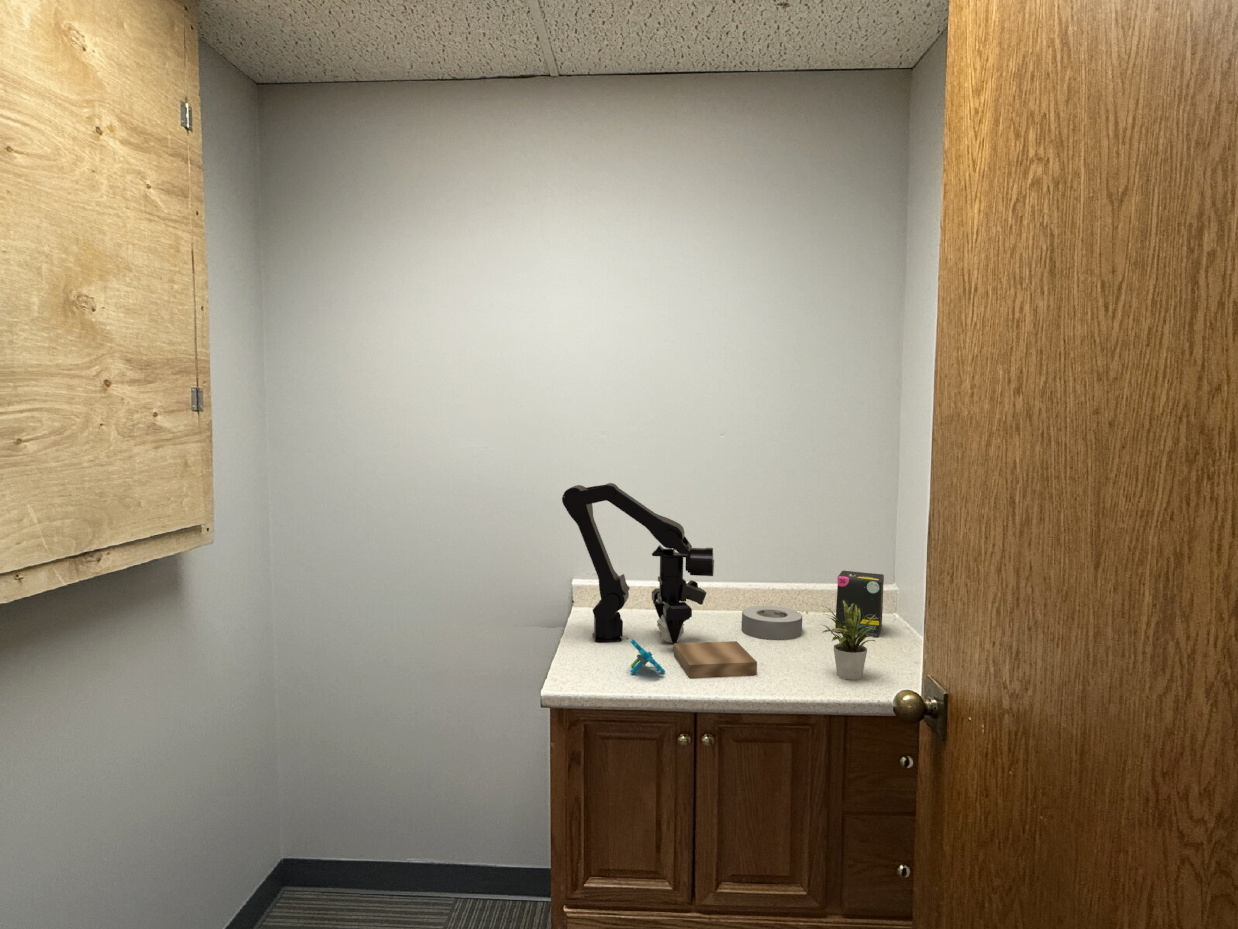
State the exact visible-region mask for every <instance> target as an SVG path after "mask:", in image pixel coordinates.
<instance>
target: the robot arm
mask: <svg viewBox="0 0 1238 929" xmlns="http://www.w3.org/2000/svg"><path fill="white" fill-rule="evenodd" d="M561 501H562V505H563V506H564V508H565V510H566V511H567V514H568V515H569V516H570V518H572V520H573V521H574V522H575V524H576V525H577V526H578V529H579V532H580V534H581V537H582V539H583V542H584V544H585V547H586V551H587V552H588V555H589V557H590V560H591V563H592V565H593V568H594V571H595V573H596V575H597V579H598V588H599V595H600V600H598V602H597V604H596V605H594V608H593V609H592V613H593V633H592V636H593V638H594V641H595V643H608V642H609V643H610V642H622V638H623V633H624V632H623V630H624V629H623V628H624V626H623V624H624V623H623V622H624V621H623V618H621V617H622V616H621V614H620V612H619V611H621V610H622V608H623V607H624V606H625V604H627V601H628V600H629V596H630V594H629V590H630V589H631V588H630V586H629V584H628V583H627V580H626V576H625V574H621V575H618V573H617V572H616V570H615V569H614V567H613V564H612V561H611V560H610V557H609V554H608V551H607V548H606V546H605V544H604V541H603V539H602V535H601V534H600V531H599V528H598V525H597V523H596V521H595V518H594V510H593V504H596V503H599V502H600V503H601V502H605V501H607V502H609V503H610V504H611V505H613V506H615V507H616V508H617V509H619V510H620V511H622V512H623V513H625V514H626V515H628V516H629V517H631V518H632V519H634V520H635V521H636V522H638V523H639V524H641V525H642V526H643V527H645V528H646V529H647V530H648V532H649V533H650V534H651V535H652V536H653V537H654V539H656V540H657V541H658V542H659V545H658V546H657V548H656V549H655V550H653V552H651V556H652V557H659V576H657V581H658V583H659V588H654V589H653V590H652V591H651V600H652V603H653V606H654V609H655V612H656V613H657V617H658V619H659V618H661V616H662V615H663V617H664V620H665V623H666V626H667V629H668V632H669V635H670V638H671V640H672V644H677V643H678V641H679V640H678V637H679V634H680V630H681V627H682V624H684V623H685V622H686V621H687V620H690V619H691V618H692V616H693V609H692V607H691V606H689V604H688V603H687V600H688V601H691V602H694V603H697V604H698V605H701V606H702V605H703V604H704V601H705V600H706V596H707V592H706V591H705V590H704V589H702V588H701V587H699V585H698V584H699V583H698V582H697V581H695V580H692V579H691V580H689V581H688V582H687V581H686V580H685V579H684V564H685V572H687V573H689V575H690V576H696V577H697V576H701V577H714V572H715V559H714V548H713V547H705V548H704V547H693V546H692V544H691V543H690V541H689V540H688V538H687V536H686V535H685V533H686V532H685V528H684V527H683V526H682V525H681V523H679V522H677V521H675V520H672V519H670V518H668V517H666V516H663V515H660V514H658V513H655V511H653V510H651V509H650V508H648V507H647V506H645V505H644V504H642V503H641V502H639V500H637V499H636V498H634V497H632V496H631V495H629V494H628V493H627V492H625V491H624V490H622V489H621V488H619V487H618V485H616V484H615V483H613V482H608V483H606V484H602V485H601V484H600V485H593V486H589V487H586V486H585V485H582V484H581V485H580V484H578V485H574V486H572V487H570V488H568V489H566V490H565V491H564V493H563V494H562V497H561ZM661 545H662V546H663V547H664V548H663V547H662V546H661ZM684 558H685V563H684ZM677 640H678V641H677Z"/></svg>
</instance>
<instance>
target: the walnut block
mask: <svg viewBox="0 0 1238 929" xmlns="http://www.w3.org/2000/svg"><path fill="white" fill-rule="evenodd" d="M673 657H674V659H675V660H676V662H677V663H678V664H679V666H680V667H681V670H683V672H684V673H685V674H686V676H687V677H688V678H689V679H709V678H710V679H711V678H712V679H713V678H735V677H736V678H737V677H756V676H755V675H757V676H758V661H757V660H755V658H754V657H753V656H752V655H751V654H750V653H749V652H748V651H747V650H746V649H745V648H744V647H743V646H742V645H741V644H740V643H739V642H738V641H737V640H733V641H731V640H730V641H711V642H709V641H707V642H704V641H703V642H682V643H678V642H677V643H673Z"/></svg>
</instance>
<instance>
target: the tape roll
mask: <svg viewBox="0 0 1238 929" xmlns="http://www.w3.org/2000/svg"><path fill="white" fill-rule="evenodd" d="M741 632H742V633H743V634H744V635H746V636H748V637H751V638H755V639H758V640H759V639H760V640H765V641H789V640H795V639H798V638H800V637H801V636H802V635H801V634H803V614H802V613H801V612H799V611H797V610H794V609H791V608H788V607H782V606H775V605H757V606H749V607H746V608H744V609H743V610H742V612H741ZM797 637H798V638H797Z"/></svg>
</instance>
